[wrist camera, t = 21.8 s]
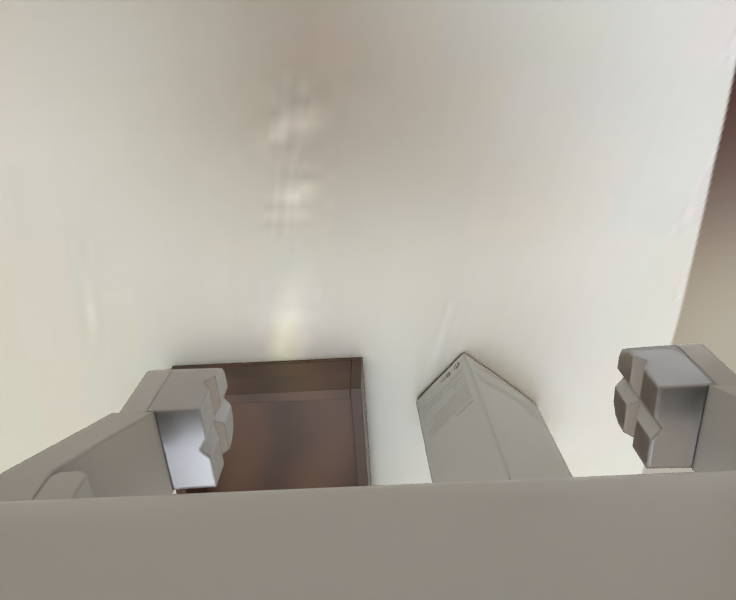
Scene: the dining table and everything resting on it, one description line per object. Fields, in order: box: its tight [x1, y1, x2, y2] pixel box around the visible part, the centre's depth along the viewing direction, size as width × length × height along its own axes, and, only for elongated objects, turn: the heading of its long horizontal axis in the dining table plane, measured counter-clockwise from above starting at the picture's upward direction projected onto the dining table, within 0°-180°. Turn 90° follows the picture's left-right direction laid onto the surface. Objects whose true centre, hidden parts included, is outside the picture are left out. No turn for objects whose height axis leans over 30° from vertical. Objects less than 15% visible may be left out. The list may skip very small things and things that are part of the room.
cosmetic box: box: [417, 353, 572, 483], centre depth 40 cm, size 8×6×15 cm
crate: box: [171, 358, 372, 494], centre depth 47 cm, size 15×17×4 cm
